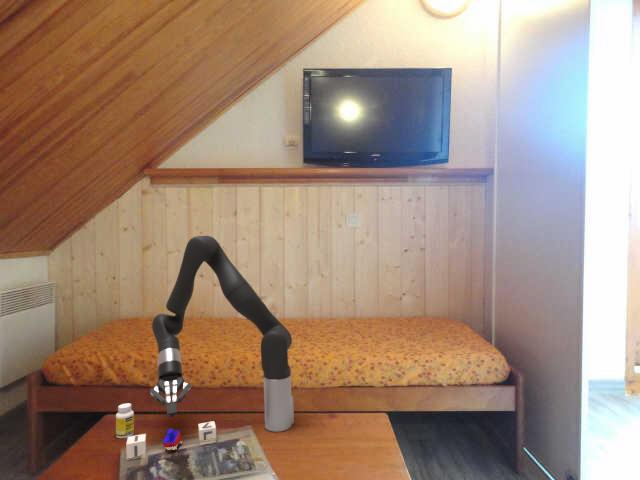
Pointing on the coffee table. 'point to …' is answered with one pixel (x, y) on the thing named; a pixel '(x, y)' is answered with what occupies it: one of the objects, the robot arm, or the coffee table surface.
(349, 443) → the coffee table surface
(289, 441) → the coffee table surface
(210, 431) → the cream block marked 7
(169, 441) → the toy car
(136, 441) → the cream block marked 1
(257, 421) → the coffee table surface
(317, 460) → the coffee table surface
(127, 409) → the supplement bottle
